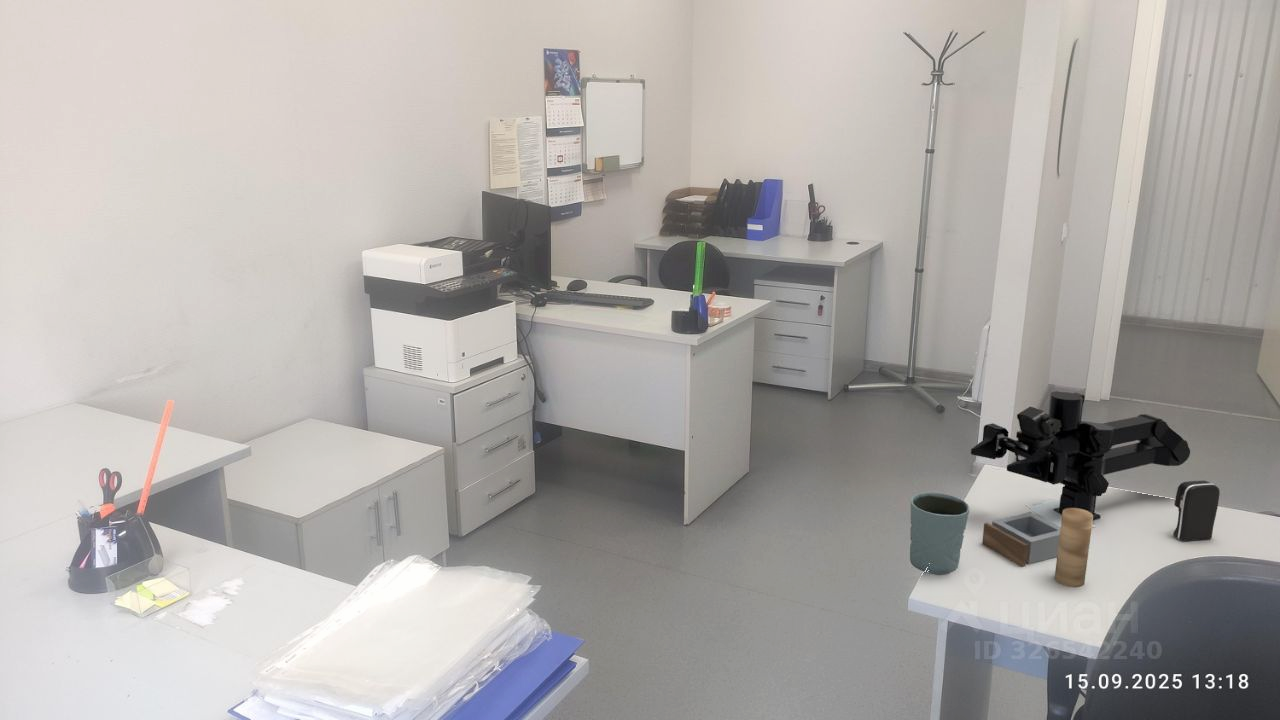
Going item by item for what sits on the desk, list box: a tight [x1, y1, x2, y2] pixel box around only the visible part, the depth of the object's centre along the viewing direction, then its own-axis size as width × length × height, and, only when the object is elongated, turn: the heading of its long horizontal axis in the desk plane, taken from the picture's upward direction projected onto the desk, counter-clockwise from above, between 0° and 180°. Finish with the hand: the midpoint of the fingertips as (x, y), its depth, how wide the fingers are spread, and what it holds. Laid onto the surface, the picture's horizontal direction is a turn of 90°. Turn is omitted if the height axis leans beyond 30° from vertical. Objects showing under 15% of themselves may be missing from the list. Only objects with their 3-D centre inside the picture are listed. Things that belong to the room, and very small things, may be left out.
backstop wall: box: [981, 522, 1028, 568], centre depth 166 cm, size 1×10×4 cm, turn 23°
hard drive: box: [1024, 500, 1098, 528], centre depth 183 cm, size 2×8×12 cm
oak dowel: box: [1054, 508, 1094, 588], centre depth 156 cm, size 5×5×13 cm
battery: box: [1173, 480, 1221, 542], centre depth 172 cm, size 7×4×11 cm, turn 98°
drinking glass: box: [909, 492, 970, 575], centre depth 163 cm, size 10×10×12 cm
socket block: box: [991, 511, 1061, 565], centre depth 168 cm, size 10×10×4 cm
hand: (989, 459), depth 169 cm, fingers open, 9 cm apart
